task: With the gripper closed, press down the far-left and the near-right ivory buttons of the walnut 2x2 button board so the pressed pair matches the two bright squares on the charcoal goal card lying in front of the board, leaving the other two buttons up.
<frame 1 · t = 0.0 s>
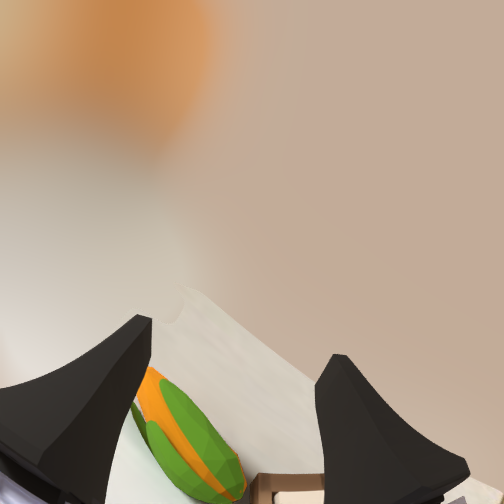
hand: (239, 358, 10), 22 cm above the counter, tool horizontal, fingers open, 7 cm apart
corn: (173, 444, 24), on the counter
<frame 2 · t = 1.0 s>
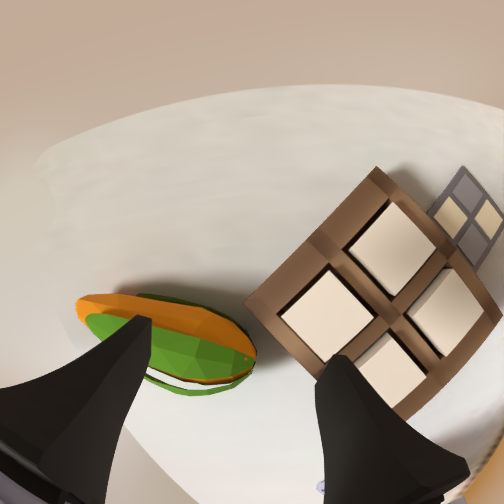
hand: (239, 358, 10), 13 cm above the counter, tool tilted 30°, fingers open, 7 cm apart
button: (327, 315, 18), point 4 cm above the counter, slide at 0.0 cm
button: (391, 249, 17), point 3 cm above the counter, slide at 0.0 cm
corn: (166, 329, 26), on the counter
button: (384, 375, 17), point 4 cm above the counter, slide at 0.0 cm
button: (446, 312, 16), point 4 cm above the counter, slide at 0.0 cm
goal card: (468, 219, 19), on the counter
button board: (381, 308, 20), on the counter
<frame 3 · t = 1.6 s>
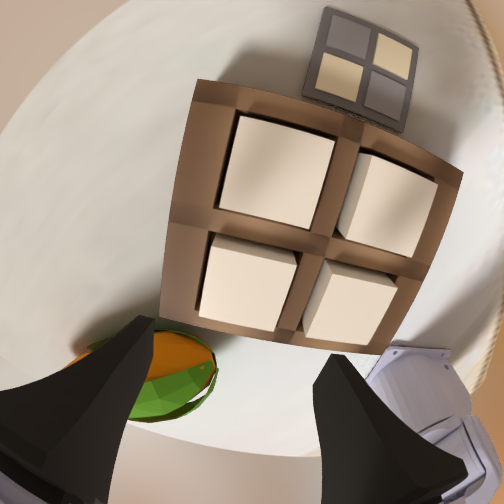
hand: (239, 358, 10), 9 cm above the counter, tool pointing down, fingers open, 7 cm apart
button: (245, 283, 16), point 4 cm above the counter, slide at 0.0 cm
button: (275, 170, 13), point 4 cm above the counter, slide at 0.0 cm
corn: (130, 355, 23), on the counter
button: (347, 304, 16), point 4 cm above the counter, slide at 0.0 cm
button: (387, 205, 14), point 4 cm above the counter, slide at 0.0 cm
goal card: (365, 67, 13), on the counter
button board: (306, 225, 18), on the counter
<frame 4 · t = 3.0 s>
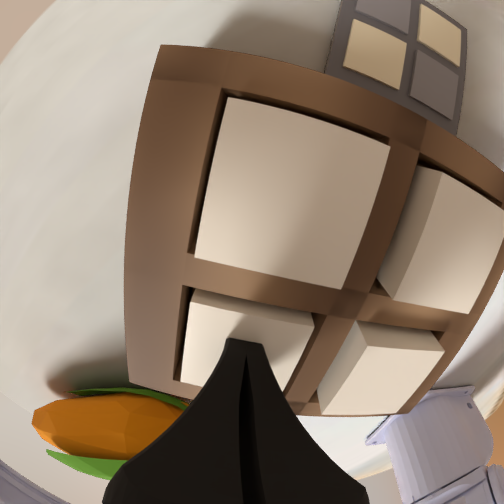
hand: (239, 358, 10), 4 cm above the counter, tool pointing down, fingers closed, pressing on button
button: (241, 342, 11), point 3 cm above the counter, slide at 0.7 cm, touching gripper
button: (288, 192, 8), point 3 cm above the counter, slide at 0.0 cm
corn: (112, 402, 18), on the counter
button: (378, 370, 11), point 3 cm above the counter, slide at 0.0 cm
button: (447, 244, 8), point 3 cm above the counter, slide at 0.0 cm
goal card: (406, 44, 8), on the counter
button board: (327, 262, 13), on the counter
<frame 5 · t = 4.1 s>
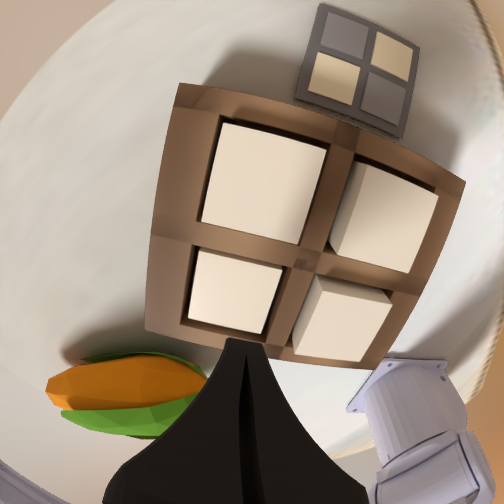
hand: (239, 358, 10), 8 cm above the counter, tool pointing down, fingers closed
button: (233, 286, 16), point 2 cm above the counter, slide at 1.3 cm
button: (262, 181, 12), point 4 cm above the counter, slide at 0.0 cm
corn: (123, 369, 23), on the counter
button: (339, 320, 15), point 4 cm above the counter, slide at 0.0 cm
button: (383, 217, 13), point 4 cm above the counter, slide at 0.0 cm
goal card: (362, 67, 13), on the counter
button board: (298, 236, 17), on the counter
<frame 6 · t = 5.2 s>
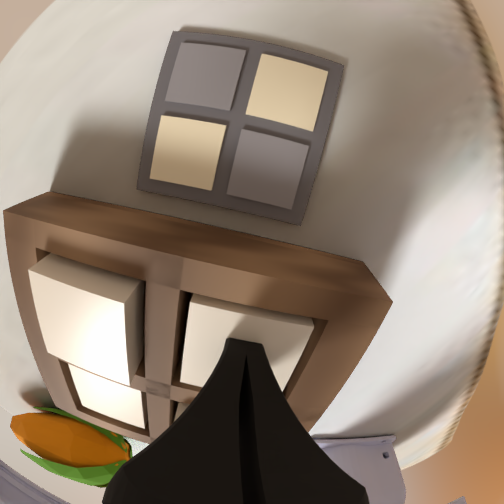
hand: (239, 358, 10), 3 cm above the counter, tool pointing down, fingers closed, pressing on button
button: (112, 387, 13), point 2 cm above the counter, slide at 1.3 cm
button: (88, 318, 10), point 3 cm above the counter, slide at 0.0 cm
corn: (70, 418, 20), on the counter
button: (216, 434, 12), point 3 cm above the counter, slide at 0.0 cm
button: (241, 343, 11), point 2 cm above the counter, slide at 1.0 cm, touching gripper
goal card: (236, 120, 10), on the counter
button board: (174, 342, 14), on the counter
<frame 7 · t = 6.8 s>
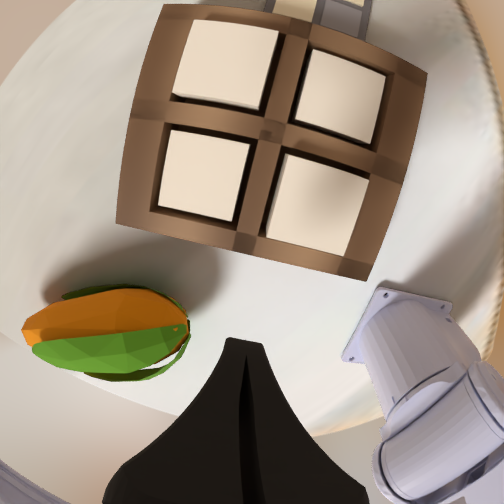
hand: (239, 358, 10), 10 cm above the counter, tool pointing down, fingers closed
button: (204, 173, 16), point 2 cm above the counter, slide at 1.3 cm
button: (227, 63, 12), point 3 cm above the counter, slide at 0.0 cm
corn: (103, 312, 23), on the counter
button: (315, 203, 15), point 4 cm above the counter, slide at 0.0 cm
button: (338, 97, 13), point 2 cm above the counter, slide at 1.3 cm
button board: (270, 133, 17), on the counter
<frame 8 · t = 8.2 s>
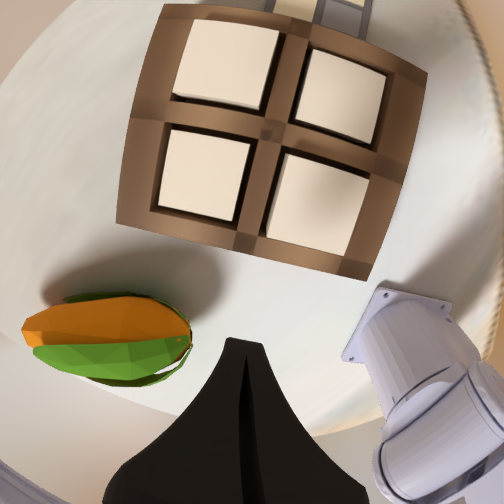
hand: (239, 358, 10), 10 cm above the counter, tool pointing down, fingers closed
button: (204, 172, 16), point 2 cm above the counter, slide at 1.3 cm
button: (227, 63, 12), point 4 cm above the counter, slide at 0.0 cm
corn: (104, 316, 23), on the counter
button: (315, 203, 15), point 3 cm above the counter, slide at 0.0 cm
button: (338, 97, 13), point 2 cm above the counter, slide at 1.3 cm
button board: (270, 133, 17), on the counter
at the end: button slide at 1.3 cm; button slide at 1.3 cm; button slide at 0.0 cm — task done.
